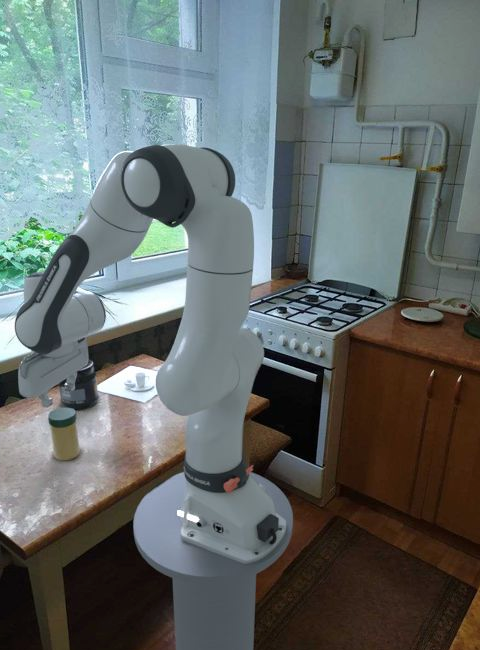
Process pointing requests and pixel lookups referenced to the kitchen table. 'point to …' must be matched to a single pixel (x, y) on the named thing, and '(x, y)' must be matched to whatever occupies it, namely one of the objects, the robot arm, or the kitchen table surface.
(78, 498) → the kitchen table surface
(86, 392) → the supplement container
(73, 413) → the jar lid
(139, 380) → the teacup and saucer
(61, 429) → the jam jar
